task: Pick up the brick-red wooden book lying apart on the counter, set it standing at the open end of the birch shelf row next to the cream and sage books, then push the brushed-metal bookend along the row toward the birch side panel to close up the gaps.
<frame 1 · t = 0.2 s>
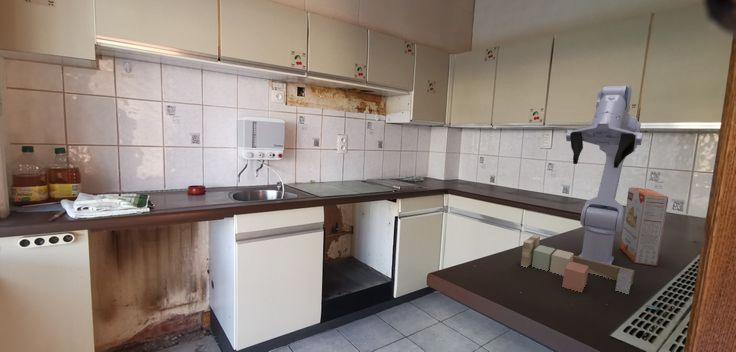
hand: (594, 162, 75), 30 cm above the worktop, tool tilted 45°, fingers open, 7 cm apart
cracker box: (636, 257, 104), on the worktop
book c: (574, 286, 81), on the worktop
book a: (542, 266, 93), on the worktop
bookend: (622, 289, 81), on the worktop
book b: (560, 271, 90), on the worktop
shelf: (529, 262, 95), on the worktop
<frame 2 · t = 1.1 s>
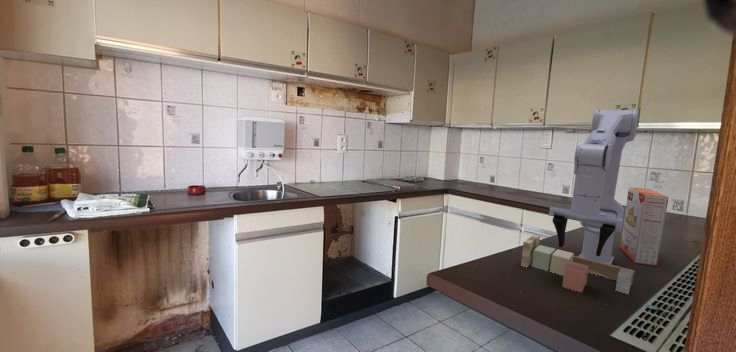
hand: (579, 250, 80), 9 cm above the worktop, tool pointing down, fingers open, 7 cm apart
nothing on the worktop moved.
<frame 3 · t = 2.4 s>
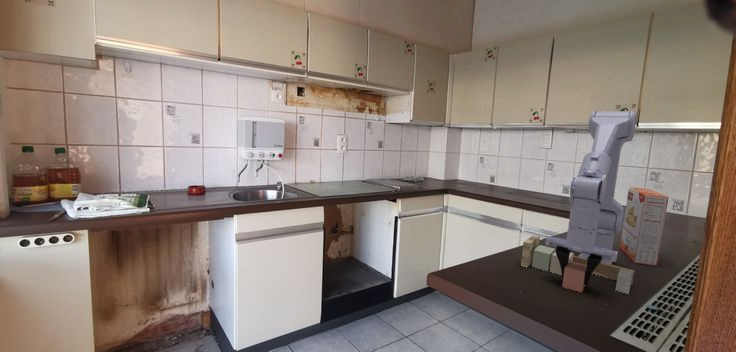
hand: (574, 280, 81), 1 cm above the worktop, tool pointing down, fingers closed on book c, 4 cm apart
book c: (574, 285, 81), on the worktop, touching gripper
everything else where it was.
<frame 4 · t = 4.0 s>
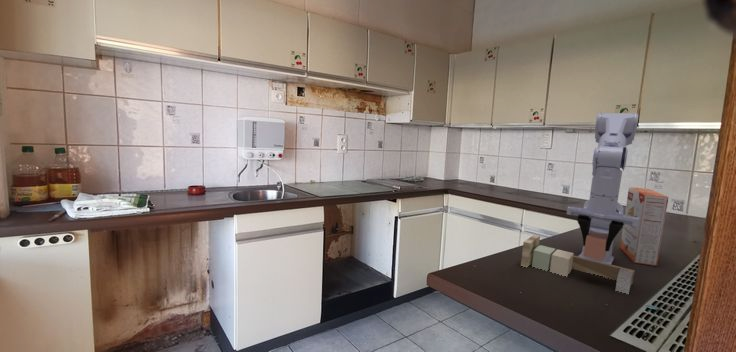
hand: (596, 247, 84), 9 cm above the worktop, tool pointing down, fingers closed on book c, 4 cm apart
book c: (595, 254, 84), point 7 cm above the worktop, touching gripper
everything else where it was.
when the fingers open (2 cm above the worktop, at t = 5.5 s): book c stays where it is, on the worktop.
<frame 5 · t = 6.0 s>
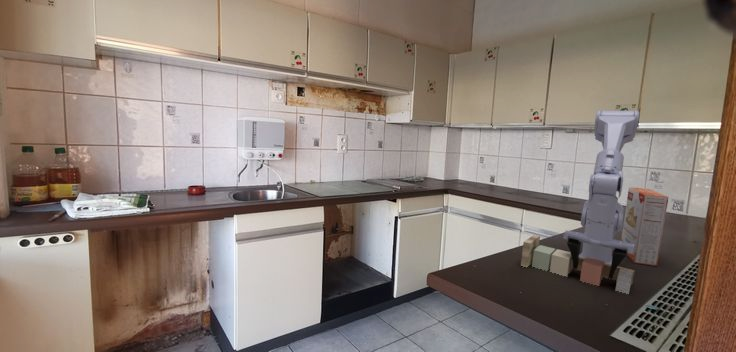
hand: (592, 272, 85), 2 cm above the worktop, tool pointing down, fingers open, 7 cm apart
book c: (591, 280, 85), on the worktop
book b: (560, 271, 90), on the worktop, touching gripper
everything else where it was.
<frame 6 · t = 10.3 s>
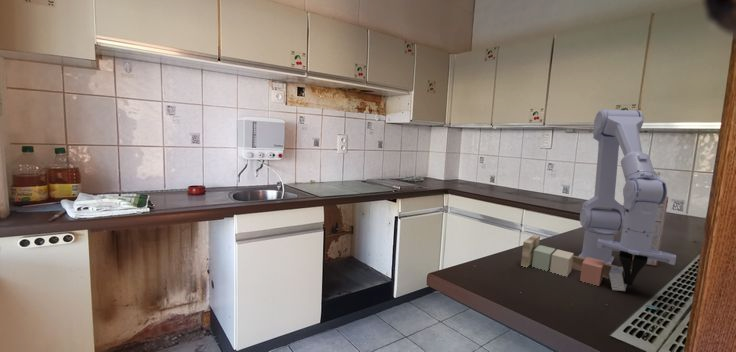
hand: (628, 283, 80), 2 cm above the worktop, tool pointing down, fingers closed
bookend: (620, 286, 81), on the worktop, tilted 17°, touching gripper
book b: (560, 271, 90), on the worktop
everything else where it was.
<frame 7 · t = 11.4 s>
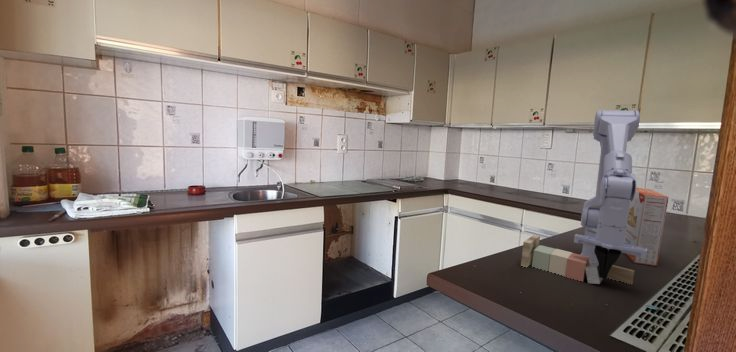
hand: (603, 276, 84), 2 cm above the worktop, tool pointing down, fingers closed
book c: (576, 276, 87), on the worktop, touching book b, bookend
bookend: (595, 279, 85), on the worktop, tilted 16°, touching book c, gripper
book b: (559, 270, 90), on the worktop, touching book c
everything else where it was.
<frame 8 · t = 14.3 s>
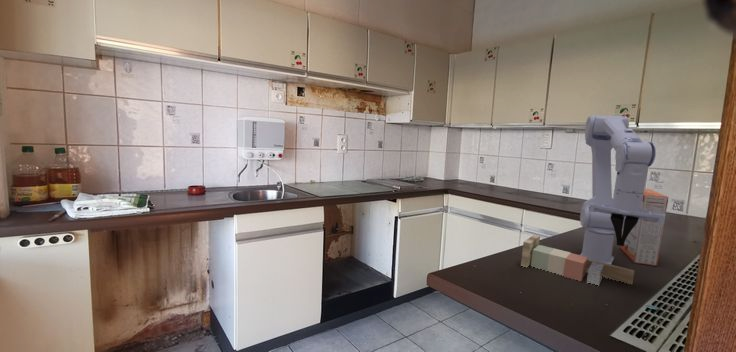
hand: (620, 244, 83), 10 cm above the worktop, tool pointing down, fingers closed
book c: (574, 276, 88), on the worktop
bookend: (594, 281, 85), on the worktop
book b: (557, 270, 91), on the worktop
everything else where it was.
at the end: book c inside the target area (0.7 cm from its centre), on the worktop; book c tilted 0°; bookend 1.0 cm from the target spot, on the worktop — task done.
